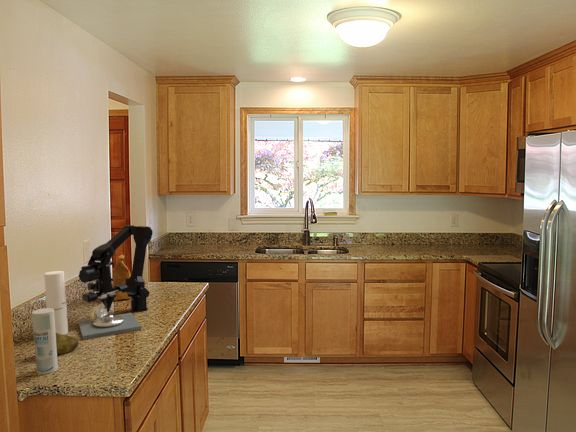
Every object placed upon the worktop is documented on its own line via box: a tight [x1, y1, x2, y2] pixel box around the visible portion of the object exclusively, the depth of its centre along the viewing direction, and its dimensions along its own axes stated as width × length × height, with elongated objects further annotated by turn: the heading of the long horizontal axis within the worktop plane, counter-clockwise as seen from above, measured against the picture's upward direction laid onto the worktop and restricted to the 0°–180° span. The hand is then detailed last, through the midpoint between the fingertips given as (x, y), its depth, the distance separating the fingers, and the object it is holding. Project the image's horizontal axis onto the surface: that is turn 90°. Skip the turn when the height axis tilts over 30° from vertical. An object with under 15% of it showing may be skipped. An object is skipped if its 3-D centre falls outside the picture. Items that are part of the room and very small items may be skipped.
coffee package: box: [112, 253, 132, 302], centre depth 246 cm, size 10×12×22 cm
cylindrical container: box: [43, 270, 69, 335], centre depth 193 cm, size 7×7×25 cm
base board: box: [77, 311, 142, 341], centre depth 200 cm, size 22×22×6 cm
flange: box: [93, 306, 124, 327], centre depth 201 cm, size 12×15×4 cm
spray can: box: [31, 307, 59, 375], centre depth 157 cm, size 6×6×20 cm
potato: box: [55, 332, 79, 355], centre depth 173 cm, size 8×13×8 cm, turn 104°
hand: (108, 311), depth 208 cm, fingers closed
